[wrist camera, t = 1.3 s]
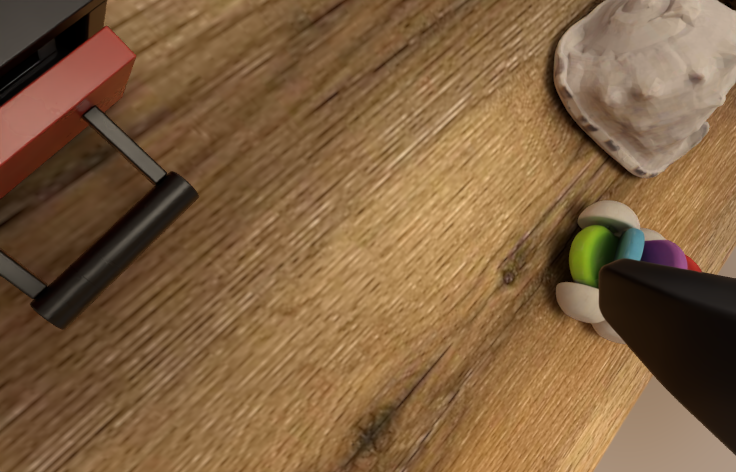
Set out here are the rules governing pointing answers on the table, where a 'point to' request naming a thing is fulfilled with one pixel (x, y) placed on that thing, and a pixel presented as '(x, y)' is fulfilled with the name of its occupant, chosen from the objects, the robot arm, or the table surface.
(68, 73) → the red drawer
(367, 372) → the table surface
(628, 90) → the seashell
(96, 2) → the mini drawer cabinet
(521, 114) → the table surface
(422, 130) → the table surface
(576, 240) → the rainbow wheeled toy
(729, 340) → the robot arm
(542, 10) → the table surface
